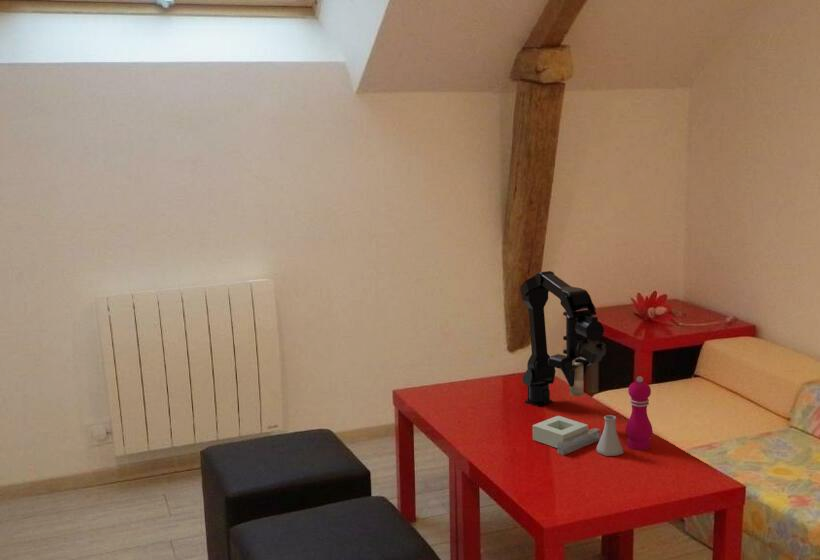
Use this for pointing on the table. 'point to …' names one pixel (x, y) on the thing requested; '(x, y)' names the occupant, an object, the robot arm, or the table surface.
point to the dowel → (577, 381)
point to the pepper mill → (639, 416)
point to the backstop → (578, 441)
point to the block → (557, 430)
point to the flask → (609, 439)
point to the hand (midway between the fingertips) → (576, 384)
